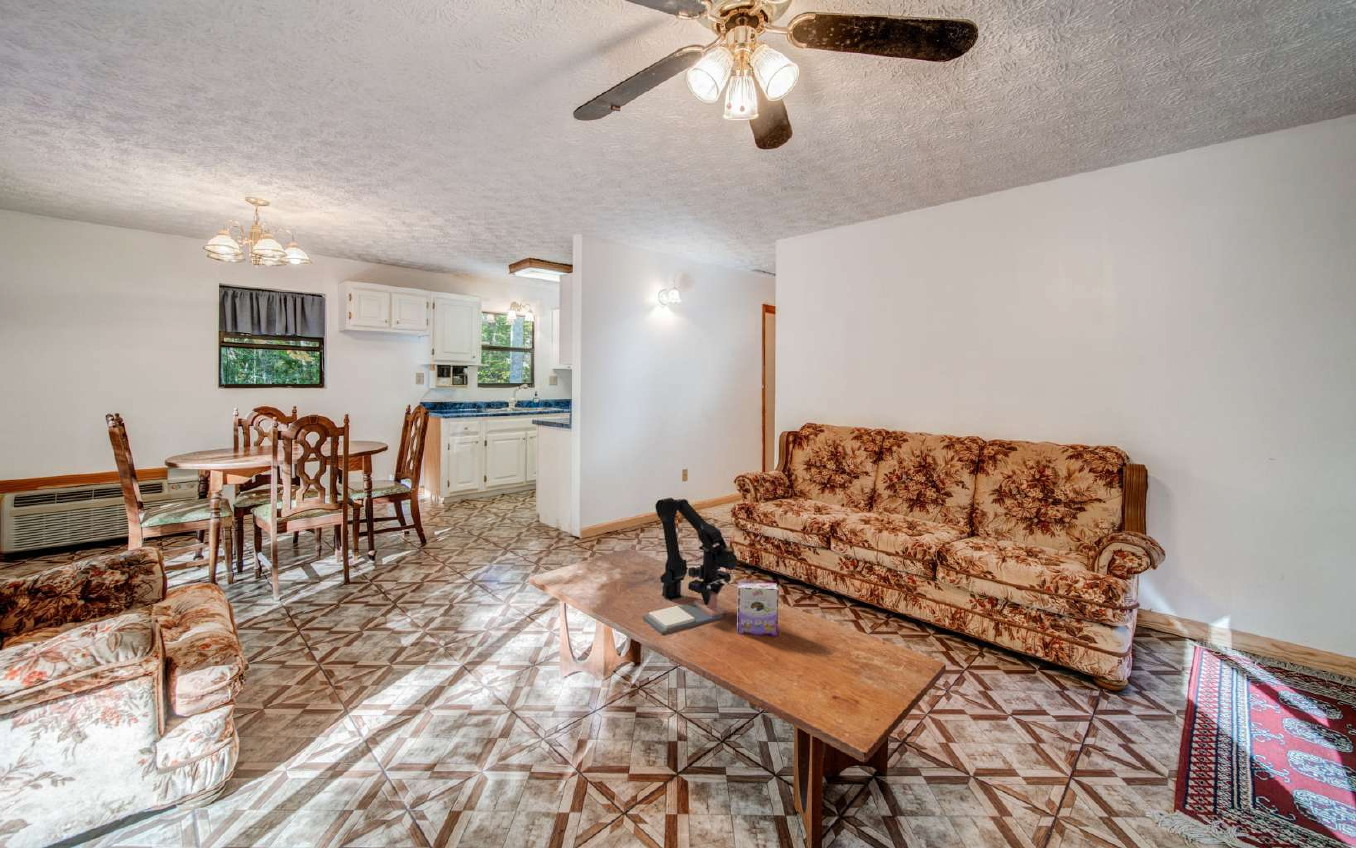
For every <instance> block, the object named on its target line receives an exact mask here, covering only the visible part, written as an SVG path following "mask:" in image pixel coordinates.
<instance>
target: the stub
mask: <svg viewBox="0 0 1356 848" xmlns="http://www.w3.org/2000/svg"><path fill="white" fill-rule="evenodd" d="M693 603H694V605H695V606H697V607H698V608H700V609H701V610H703V611H705V612H706V613H708V614H709V615H711V616H715V615H719V614H722V615H723V614H725V613H726V612H725V611H726V610H725V609H724V608H723V607H721V606H719V605H718V596H717V594H716V593H715V592H713V591H711V595H710V599H709V602H708V605H705V604H704V601H703V598H702V599H698V600H694V601H693Z"/></svg>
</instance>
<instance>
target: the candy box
mask: <svg viewBox="0 0 1356 848" xmlns="http://www.w3.org/2000/svg"><path fill="white" fill-rule="evenodd" d="M736 612H737V613H736V614H737V615H736V616H737V617H736V618H737V619H736V621H737V622H736V633H737V634H743V635H744V634H746V635H747V634H748V635H768V636H778V625H779V624H778V622H779V617H778V616H779V613H778V612H779V587H778V584H777V583H775V582H774V583H771V582H769V583H768V582H752V581H750V582H749V581H738V582H737V611H736Z"/></svg>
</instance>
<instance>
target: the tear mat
mask: <svg viewBox="0 0 1356 848" xmlns="http://www.w3.org/2000/svg"><path fill="white" fill-rule="evenodd" d="M678 607H679V608H681V609H682V610H684V611H685V612H686V613H688V614H689V615H691V616H692V617H694V618H695V621H694V622H690V623H687V624H683V625H679V626H676V627H672V628H668V629H665V628H663V627H662V626H661V625H660V624H658V623H657V622H656V621H655V620H653V619H652V618H651V617H649V614H646V615H642V617H641V618H642V620H643V621H645V622H646V623H647V624H648V625H650V626H651V627H652V628H654V629H655V630H656V632H658V633H659V634H661V635H666V634H669V633H673V632H676V631H680V630H684V629H688V628H691V627H695V626H698V625H702V624H705V623H709V622H713V621H716V620H720V619H723V618H724V615H723V614H719V615H715V616H711V615H709V614H708V613H706V612H705V611H703V610H701V609H700V608H698V607H697V606H695V605H694V602H693V603H690V604H686V605H682V606H678Z"/></svg>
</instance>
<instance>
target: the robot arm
mask: <svg viewBox="0 0 1356 848" xmlns="http://www.w3.org/2000/svg"><path fill="white" fill-rule="evenodd" d="M654 507H655V511H656V515H657V517H658V518H659V520H660V521H661V523H662V527H663V535H664V541H665V548H666V549H665V550H666V555H667V559H666V562H665V567H664V569H665V572H664V573H662V575H661V576H660V577H659V578H660V583H662V584H663V585H662V593H661V596H662V597H664V598H665V599H667V600H669V601H672V600H677V599H680V598H683V597H684V596H683V595H682V593H681V592H682V591H681V590H682V588H681V587H682V581H684V580H685V577H686V576H687V573H688V577H690V578H691V579H694V580H692V581H689V582H688V584H687V585H688V587H687V588H688V590H690V591H692V592H695V593H697V594H700V595H701V598H702V599H703V601H704V604H705V605H708V602H709V599H710V595H711V591H713V592H715V593H716V594H717V597H718V595H719V593H720V592H721V590H722V588H723V587H724V586H725V583H729V582H731V580H732V576H731V573H729V572H727V571H724V570H721V568H723V569H726V570H729V571H733V570H735V569H736V567H737V564H738V558H737V555H736V554H735V551H734V550H730V549H727V548H728V546H727V544H726V542H725V540H724V538H723V533H722V532H721V531H720V529H718V528H717V527H716V526H715V525H712V524H710V523H708V522H707V521H706V520H704V518H703V517H702V516H701V515H700V514H699V512H698V511H696V510H695V509H694V508H693V506H692V505H691V504H690V503H689V501H688V499H685V498H682V499H680V498H679V499H674V498H673V497H667V498H663V499H658V500H657V501H656V503H655V506H654ZM678 512H679V514H680V515H681V516H682V517H683V518H684V519H685V520H686V521H687V523H689V525H690V526H691V527H692V528H693V529H694V530H695V531H696V533H697V537H698V539H699V541H700V543H701V546H699V547H698V549H699V550H701V551H703V556H702V557H703V559H702V564H700V566H697V567H694V566H693V567H689V568H688V565H687V560H686V559H683V558H682V556H681V554H680V547H679V540H678V535H677V528H676V522H675V520H676V516H677V513H678ZM695 578H698V579H699V580H698V579H695ZM701 580H702V581H701ZM722 580H723V581H724V582H725V583H723V582H722Z"/></svg>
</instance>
